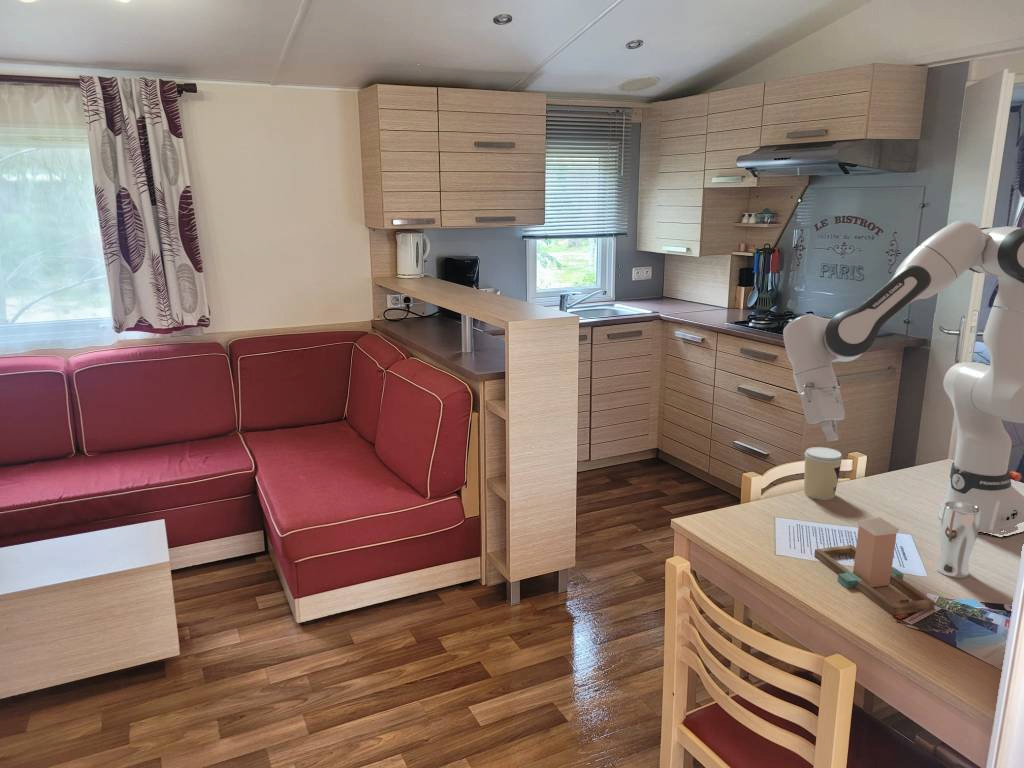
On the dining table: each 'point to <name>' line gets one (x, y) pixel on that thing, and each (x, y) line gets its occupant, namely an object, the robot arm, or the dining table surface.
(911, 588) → the open rectangular frame
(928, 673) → the dining table surface
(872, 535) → the block
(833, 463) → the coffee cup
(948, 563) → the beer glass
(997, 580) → the dining table surface
